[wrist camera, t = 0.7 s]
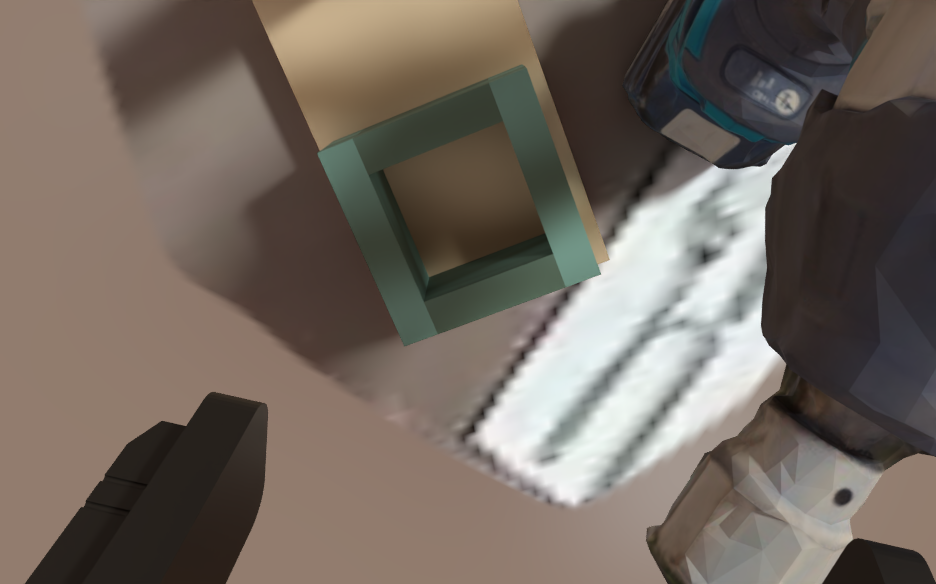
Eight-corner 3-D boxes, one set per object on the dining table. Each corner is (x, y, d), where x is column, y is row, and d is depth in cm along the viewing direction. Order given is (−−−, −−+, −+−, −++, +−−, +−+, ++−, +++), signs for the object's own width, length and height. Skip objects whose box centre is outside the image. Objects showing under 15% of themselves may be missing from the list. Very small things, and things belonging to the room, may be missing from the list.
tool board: (191, -155, 32) (140, -188, 27) (421, -264, 30) (410, -319, 26) (406, 324, 38) (395, 366, 33) (604, 251, 37) (623, 283, 32)
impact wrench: (507, 242, 37) (556, 629, 13) (797, -258, 30) (1937, -1303, 7) (651, 319, 38) (940, 807, 14) (959, -149, 31) (2445, -707, 8)
